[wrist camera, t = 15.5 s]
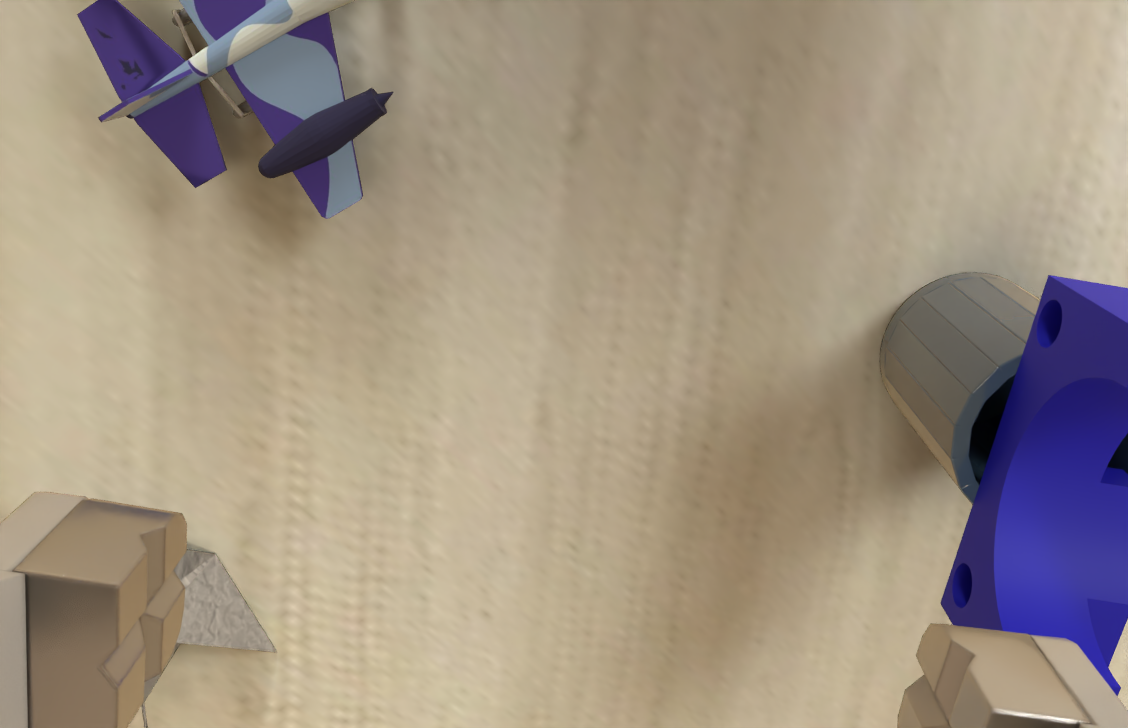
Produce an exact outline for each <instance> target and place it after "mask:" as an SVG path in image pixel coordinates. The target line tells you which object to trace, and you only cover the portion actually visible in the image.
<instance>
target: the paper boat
mask: <svg viewBox="0 0 1128 728" xmlns="http://www.w3.org/2000/svg"><path fill="white" fill-rule="evenodd" d="M174 572H175V573H176V575H177V576H178V578H179V579H180V581H181V582H182V583H183V585H184V586H185V602H184V612H183V618H182V624H181V630H180V633H179V636H178V639H177V642H176V644H175V647H174V650H173V653H172V656H173V655H174V653H175V651H176V650H177V648H178V647H179V645H180V643H184V644H194V645H205V646H215V647H226V648H236V649H247V650H257V651H268V652H277V651H276V650H275V648H274V646H273V645H272V643H271V642H270V640H269V638H268V637H267V635H266V634H265V632H264V630H263V629H262V627H261V626H260V624H259V623H258V621H257V619H256V618H255V616H254V615H253V613H252V611H251V610H250V608H249V607H248V605H247V603H246V602H245V600H244V599H243V597H242V595H241V594H240V592H239V591H238V589H237V588H236V586H235V584H234V583H233V581H232V580H231V578H230V576H229V575H228V573H227V572H226V570H225V568H224V567H223V565H222V564H221V562H220V560H219V559H218V557H217V556H216V554H214V553H207V552H200V551H193V550H187V551H186V553H185V554H184V556H183V557H182V558H181V560H180V561H179V563H178V564H177V566H176V567H175V569H174ZM172 656H171V658H172ZM171 658H170V659H169V661H170V660H171ZM169 661H168V663H169ZM168 663H167V664H168ZM167 664H166V666H167ZM166 666H165V668H166ZM165 668H164V669H165ZM163 671H164V670H163ZM163 671H162V673H163ZM162 673H161V674H162ZM161 674H160V675H158V676H156V677H154V678H152V679H150V680H148V681H146V682H144V702H145V700H146V699H147V697H148V695H149V694H150V692H151V691H152V689H153V687H154V686H155V684H156V682H157V681H158V679H159V677H160V676H161ZM144 702H143V704H142V705H141V706H142V713H143V720H144V727H145V728H148V726H147V719H146V712H145V705H144Z"/></svg>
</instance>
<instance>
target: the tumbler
mask: <svg viewBox="0 0 1128 728" xmlns="http://www.w3.org/2000/svg"><path fill="white" fill-rule="evenodd" d="M1040 300H1041V299H1039V298H1038V297H1036V296H1035V295H1033V294H1031V293H1030V292H1028V291H1026V290H1025V289H1023V288H1022V287H1020V286H1019V285H1017V284H1015V283H1013V282H1012V281H1010V280H1008V279H1005V278H1003V277H1000V276H997V275H992V274H988V273H977V272H973V273H961V274H955V275H951V276H947V277H944V278H941V279H939V280H936V281H934V282H932V283H930V284H928V285H926V286H925V287H923V288H921V289H920V290H919V291H917V292H916V293H914V294H913V295H912V296H911V297H910V298H909V299H908V300H907V301H905V302H904V304H903V305H902V306H901V307H900V308H899V309H898V311H897V312H896V313H895V315H894V316H893V318H892V320H891V321H890V323H889V325H888V327H887V329H886V332H885V335H884V338H883V341H882V346H881V351H880V369H881V375H882V379H883V382H884V385H885V387H886V390H887V392H888V393H889V395H890V397H891V398H892V400H893V402H894V403H895V405H896V406H897V407H898V409H899V410H900V411H901V413H902V414H903V415H904V416H905V418H906V419H907V420H908V422H909V423H910V424H911V426H912V427H913V428H914V430H915V431H916V432H917V434H918V435H919V436H920V438H921V439H922V440H923V441H924V443H925V444H926V445H927V447H928V448H929V449H930V451H931V452H932V453H933V455H934V456H935V457H936V459H937V460H938V461H939V463H940V464H941V465H942V467H943V468H944V469H945V470H946V472H947V473H948V474H949V476H950V477H951V478H952V480H953V481H954V482H955V484H956V485H957V486H958V488H959V489H960V490H961V491H962V493H963V494H964V495H965V496H966V497H967V499H968V500H969V501H970V502H971V503H972V505H973V503H974V500H975V497H976V494H977V491H978V488H979V485H980V482H981V479H982V476H983V473H984V470H985V467H986V464H987V461H988V458H989V455H990V452H991V449H992V446H993V442H994V439H995V436H996V433H997V430H998V427H999V424H1000V421H1001V418H1002V415H1003V412H1004V409H1005V406H1006V403H1007V400H1008V397H1009V394H1010V391H1011V388H1012V385H1013V382H1014V379H1015V376H1016V373H1017V370H1018V367H1019V364H1020V361H1021V358H1022V355H1023V351H1024V348H1025V345H1026V342H1027V339H1028V336H1029V333H1030V330H1031V327H1032V324H1033V321H1034V318H1035V315H1036V312H1037V309H1038V306H1039V303H1040ZM1107 467H1109V468H1116V469H1122V470H1124V471H1125V472H1126V473H1127V474H1128V433H1127V435H1126V436H1125V437H1124V439H1123V440H1122V441H1121V443H1120V444H1119V446H1118V448H1117V449H1116V451H1115V452H1114V454H1113V456H1112V458H1111V460H1110V462H1109V463H1108V466H1107Z"/></svg>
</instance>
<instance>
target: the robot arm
mask: <svg viewBox="0 0 1128 728" xmlns="http://www.w3.org/2000/svg"><path fill="white" fill-rule="evenodd" d="M186 551H187V523H186V521H185V518H184V516H183V514H182V513H178V512H172V511H166V510H159V509H153V508H147V507H141V506H135V505H129V504H123V503H117V502H111V501H105V500H98V499H88V498H87V497H85V496H77V495H68V494H60V493H52V492H35V493H33V494H32V495H31V496H30V497H29V498H28V499H26V500H25V501H24V502H23V503H22V504H21V505H20V506H19V507H18V508H16V509H15V510H14V511H13V512H12V513H11V514H10V515H9V516H8V517H6V518H5V519H4V520H3V521H2V522H1V523H0V728H127V727H128V726H129V724H130V723H131V721H132V720H133V718H134V716H135V715H136V713H137V712H138V710H139V708H140V707H141V705H142V704H143V702H144V682H146V681H148V680H150V679H152V678H154V677H156V676H158V675H160V674H161V673H162V671H163V670H164V668H165V666H166V664H167V663H168V661H169V659H170V658H171V656H172V653H173V650H174V647H175V644H176V642H177V639H178V636H179V633H180V630H181V624H182V618H183V612H184V602H185V586H184V585H183V583H182V582H181V581H180V579H179V578H178V576H177V575H176V573H175V572H174V569H175V567H176V566H177V564H178V563H179V561H180V560H181V558H182V557H183V556H184V554H185V553H186ZM916 657H917V659H918V661H919V664H920V666H921V668H922V670H923V673H924V675H923V676H922V677H921V678H919V679H918V680H917V681H916V682H914V683H913V684H912V685H911V686H909V687H908V688H907V689H906V690H905V692H904V696H903V699H902V703H901V706H900V710H899V714H898V725H897V728H1128V710H1127V709H1126V707H1125V706H1124V705H1123V703H1122V702H1121V701H1120V699H1119V698H1118V697H1117V696H1116V694H1115V693H1114V692H1113V690H1112V689H1111V688H1110V686H1109V685H1108V684H1107V682H1106V681H1105V680H1104V679H1103V677H1102V676H1101V675H1100V673H1099V672H1098V671H1097V669H1096V668H1095V667H1094V666H1093V664H1092V663H1091V662H1090V660H1089V659H1088V658H1087V656H1086V655H1085V654H1084V653H1083V651H1082V650H1081V649H1080V647H1079V646H1078V645H1077V644H1076V643H1074V642H1072V641H1070V640H1068V639H1066V638H1059V637H1049V636H1039V635H1029V634H1023V633H1015V632H1006V631H998V630H990V629H981V628H973V627H964V626H956V625H948V624H930V625H929V627H928V628H927V630H926V631H925V633H924V634H923V636H922V639H921V642H920V645H919V648H918V651H917V654H916Z"/></svg>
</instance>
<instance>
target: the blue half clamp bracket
mask: <svg viewBox="0 0 1128 728" xmlns="http://www.w3.org/2000/svg"><path fill="white" fill-rule="evenodd" d="M1127 433H1128V288H1123V287H1117V286H1111V285H1105V284H1099V283H1093V282H1087V281H1081V280H1075V279H1069V278H1063V277H1057V276H1051V275H1049V276H1048V279H1047V282H1046V285H1045V288H1044V291H1043V294H1042V297H1041V300H1040V303H1039V306H1038V309H1037V312H1036V315H1035V318H1034V321H1033V324H1032V327H1031V330H1030V333H1029V336H1028V339H1027V342H1026V345H1025V348H1024V351H1023V355H1022V358H1021V361H1020V364H1019V367H1018V370H1017V373H1016V376H1015V379H1014V382H1013V385H1012V388H1011V391H1010V394H1009V397H1008V400H1007V403H1006V406H1005V409H1004V412H1003V415H1002V418H1001V421H1000V424H999V427H998V430H997V433H996V436H995V439H994V442H993V446H992V449H991V452H990V455H989V458H988V461H987V464H986V467H985V470H984V473H983V476H982V479H981V482H980V485H979V488H978V491H977V494H976V497H975V500H974V503H973V506H972V509H971V512H970V515H969V518H968V521H967V524H966V527H965V530H964V533H963V537H962V540H961V543H960V546H959V549H958V552H957V555H956V558H955V561H954V564H953V567H952V570H951V573H950V576H949V579H948V582H947V585H946V588H945V591H944V594H943V597H942V600H941V605H942V607H943V609H944V610H945V612H946V614H947V615H948V617H949V619H950V621H951V622H952V624H953V625H956V626H964V627H973V628H981V629H990V630H998V631H1006V632H1015V633H1023V634H1029V635H1039V636H1049V637H1059V638H1066V639H1068V640H1070V641H1072V642H1074V643H1076V644H1077V645H1078V646H1079V647H1080V649H1081V650H1082V651H1083V653H1084V654H1085V655H1086V656H1087V658H1088V659H1089V660H1090V662H1091V663H1092V664H1093V666H1094V667H1095V668H1096V669H1097V671H1098V672H1099V673H1100V675H1101V676H1102V677H1103V679H1104V680H1105V681H1106V682H1107V684H1108V685H1109V686H1110V688H1111V689H1112V690H1113V692H1114V693H1115V694H1116V696H1118V694H1119V691H1120V689H1121V687H1120V686H1119V684H1118V683H1117V682H1116V680H1115V679H1114V677H1113V676H1112V674H1111V672H1110V670H1109V668H1108V666H1109V664H1110V661H1111V659H1112V656H1113V654H1114V651H1115V649H1116V646H1117V644H1118V641H1119V639H1120V636H1121V634H1122V631H1123V629H1124V626H1125V624H1126V621H1127V619H1128V474H1127V473H1126V472H1125V471H1124V470H1122V469H1116V468H1109V467H1107V466H1108V463H1109V462H1110V460H1111V458H1112V456H1113V454H1114V452H1115V451H1116V449H1117V448H1118V446H1119V444H1120V443H1121V441H1122V440H1123V439H1124V437H1125V436H1126V435H1127Z"/></svg>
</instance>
